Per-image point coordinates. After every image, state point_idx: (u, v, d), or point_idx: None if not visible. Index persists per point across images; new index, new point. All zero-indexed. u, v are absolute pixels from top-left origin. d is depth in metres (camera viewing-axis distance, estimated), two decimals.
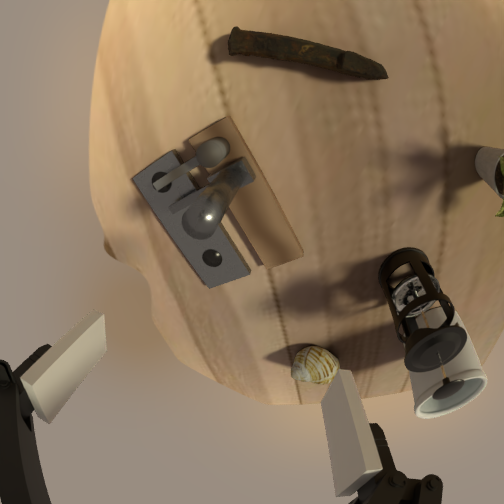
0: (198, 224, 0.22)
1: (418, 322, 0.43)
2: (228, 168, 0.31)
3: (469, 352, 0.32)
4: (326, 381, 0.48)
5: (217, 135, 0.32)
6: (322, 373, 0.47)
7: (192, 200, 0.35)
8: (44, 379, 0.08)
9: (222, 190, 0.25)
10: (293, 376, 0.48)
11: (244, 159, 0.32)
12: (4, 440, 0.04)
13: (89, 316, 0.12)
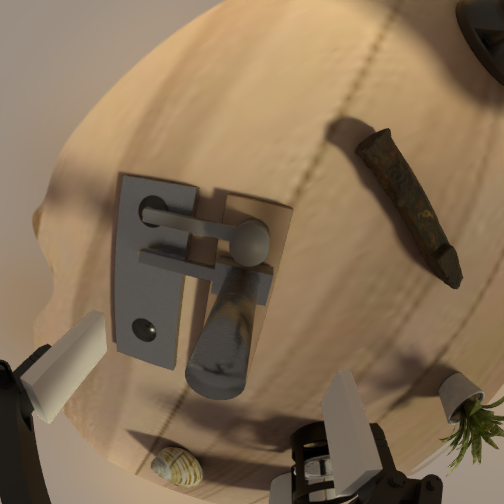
0: (215, 380, 0.12)
1: None
2: (251, 273, 0.23)
3: None
4: (183, 486, 0.33)
5: (264, 220, 0.24)
6: (185, 480, 0.32)
7: (175, 268, 0.24)
8: (44, 379, 0.08)
9: (252, 325, 0.17)
10: (153, 469, 0.32)
11: None
12: (4, 440, 0.04)
13: (90, 316, 0.12)
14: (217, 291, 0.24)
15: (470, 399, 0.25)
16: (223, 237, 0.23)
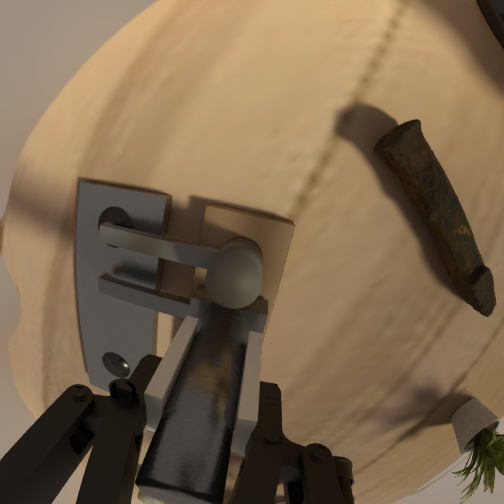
0: (178, 497, 0.06)
1: None
2: (238, 313, 0.17)
3: None
4: None
5: (255, 239, 0.18)
6: None
7: (141, 301, 0.18)
8: (167, 390, 0.10)
9: (235, 404, 0.10)
10: (140, 499, 0.26)
11: None
12: (105, 460, 0.06)
13: (186, 322, 0.14)
14: None
15: (485, 428, 0.19)
16: (200, 264, 0.17)
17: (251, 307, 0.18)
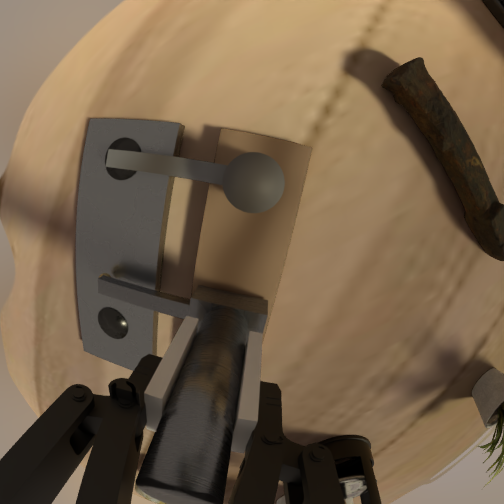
0: (178, 497, 0.06)
1: None
2: (238, 313, 0.17)
3: None
4: None
5: None
6: None
7: (141, 302, 0.18)
8: (167, 390, 0.10)
9: (235, 404, 0.10)
10: (137, 491, 0.24)
11: None
12: (105, 460, 0.06)
13: (186, 322, 0.14)
14: None
15: None
16: (214, 179, 0.15)
17: (251, 307, 0.18)
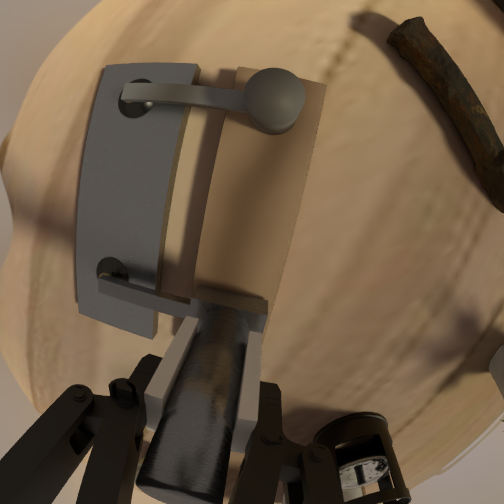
0: (178, 497, 0.06)
1: None
2: (238, 313, 0.17)
3: None
4: None
5: None
6: None
7: (141, 301, 0.18)
8: (167, 390, 0.10)
9: (235, 404, 0.10)
10: None
11: None
12: (105, 460, 0.06)
13: (186, 322, 0.14)
14: None
15: None
16: (232, 104, 0.14)
17: (251, 307, 0.18)
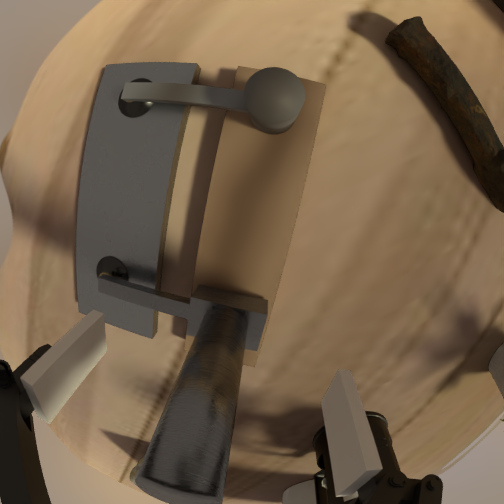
0: (177, 496, 0.06)
1: None
2: (238, 312, 0.17)
3: None
4: None
5: None
6: None
7: (141, 301, 0.18)
8: (44, 379, 0.08)
9: (234, 403, 0.10)
10: (132, 480, 0.23)
11: None
12: (4, 440, 0.04)
13: (90, 316, 0.12)
14: (194, 332, 0.18)
15: None
16: (232, 104, 0.14)
17: (251, 306, 0.18)
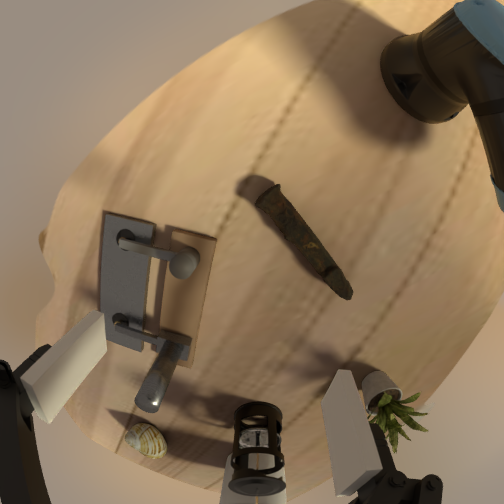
0: (146, 404, 0.26)
1: None
2: (176, 344, 0.37)
3: (280, 494, 0.38)
4: (151, 457, 0.43)
5: (196, 248, 0.36)
6: (151, 450, 0.43)
7: (136, 336, 0.38)
8: (44, 379, 0.08)
9: (168, 379, 0.31)
10: (126, 439, 0.42)
11: (191, 342, 0.39)
12: (4, 440, 0.04)
13: (90, 316, 0.12)
14: (159, 351, 0.38)
15: (386, 394, 0.38)
16: (168, 259, 0.35)
17: (183, 342, 0.38)
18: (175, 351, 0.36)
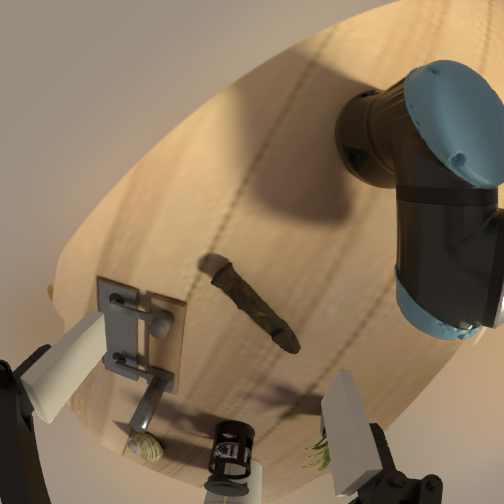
0: (137, 427, 0.34)
1: None
2: (161, 380, 0.45)
3: (254, 495, 0.46)
4: (149, 460, 0.52)
5: (170, 311, 0.44)
6: (149, 455, 0.51)
7: (131, 371, 0.46)
8: (44, 379, 0.08)
9: (153, 408, 0.38)
10: (129, 446, 0.51)
11: (173, 378, 0.46)
12: (4, 440, 0.04)
13: (90, 316, 0.12)
14: (149, 383, 0.46)
15: None
16: (149, 320, 0.42)
17: (167, 377, 0.46)
18: (160, 386, 0.43)
